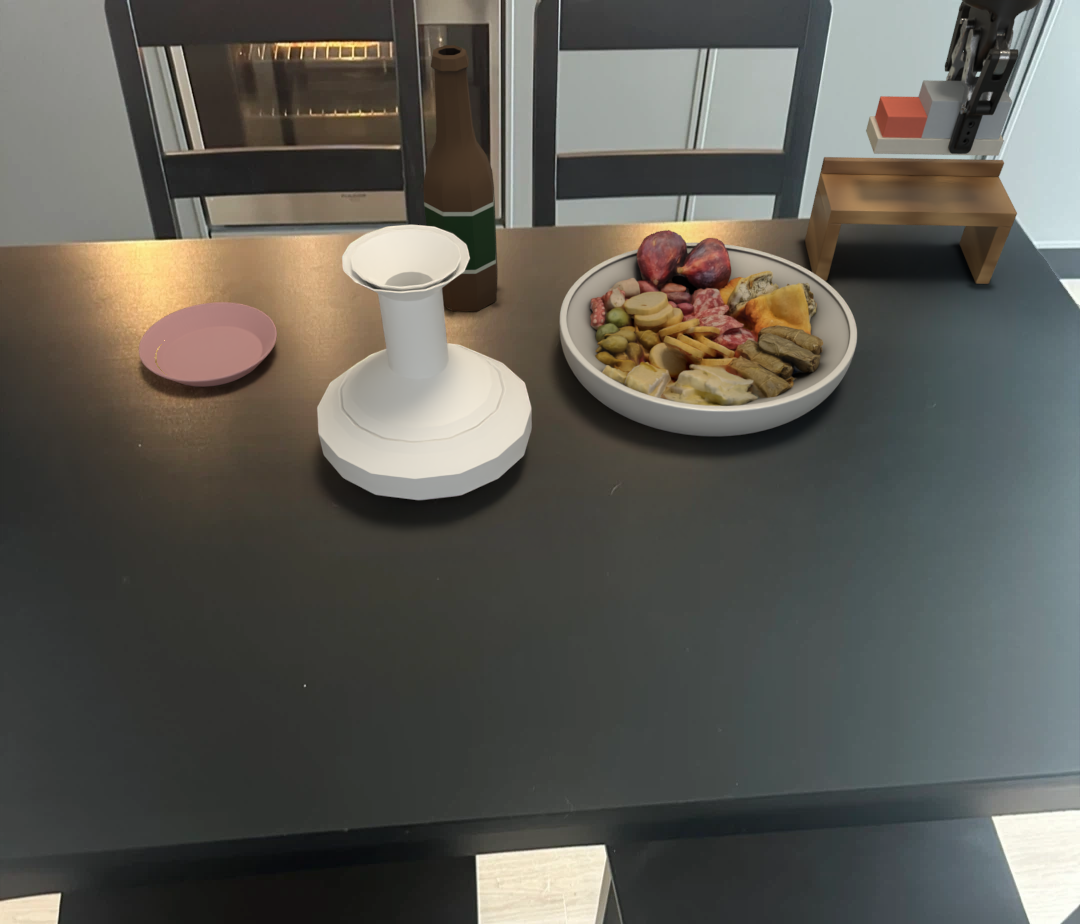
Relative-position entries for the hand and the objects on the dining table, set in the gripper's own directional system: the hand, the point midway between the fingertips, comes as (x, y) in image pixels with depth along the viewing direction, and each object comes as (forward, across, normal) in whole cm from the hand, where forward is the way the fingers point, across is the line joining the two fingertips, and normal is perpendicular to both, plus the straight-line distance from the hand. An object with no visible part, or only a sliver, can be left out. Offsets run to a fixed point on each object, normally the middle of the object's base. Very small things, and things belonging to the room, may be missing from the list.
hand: (952, 138), depth 99 cm
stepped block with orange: (0, 0, +2) cm, 2 cm away
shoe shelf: (+13, 0, +2) cm, 14 cm away
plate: (+14, -22, +78) cm, 82 cm away
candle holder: (+14, -37, +53) cm, 66 cm away
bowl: (+14, -21, +26) cm, 36 cm away
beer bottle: (+14, -9, +52) cm, 55 cm away
